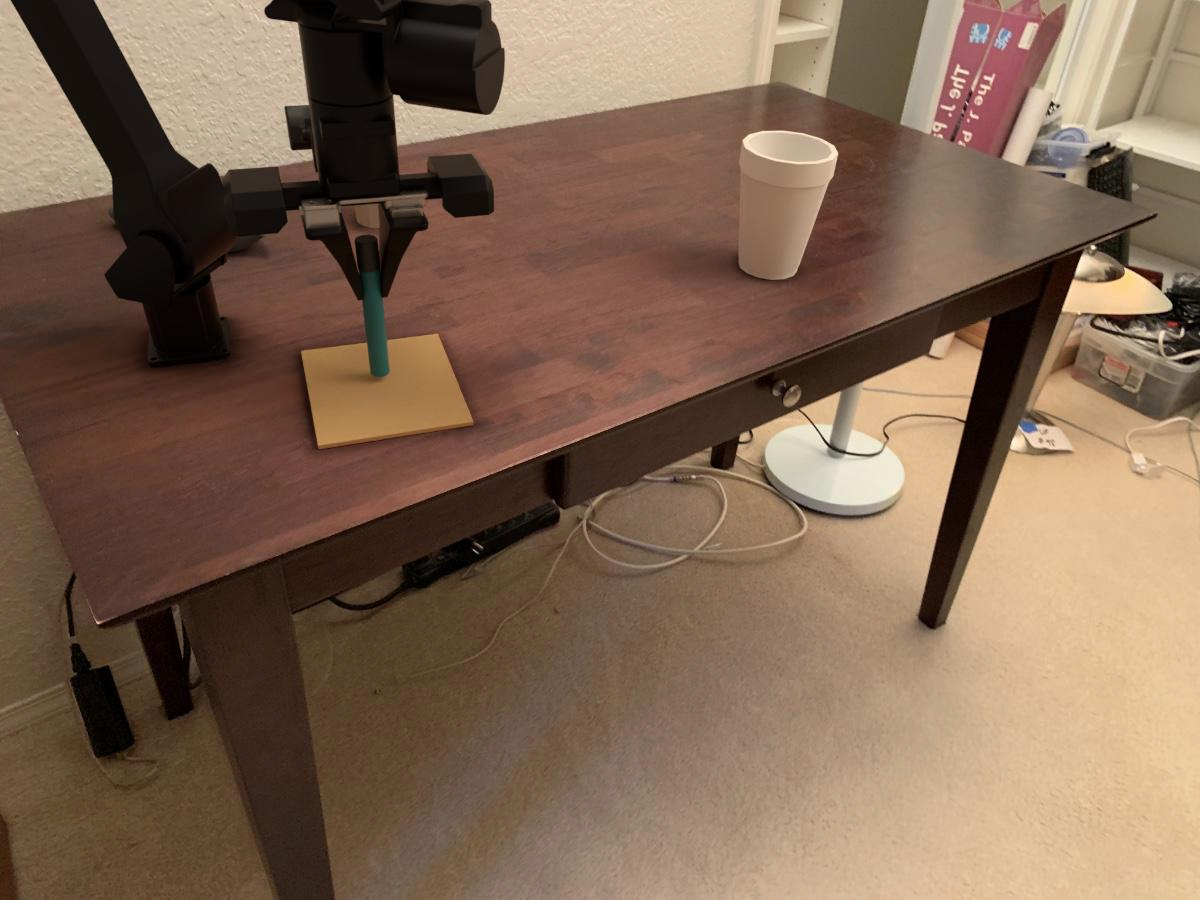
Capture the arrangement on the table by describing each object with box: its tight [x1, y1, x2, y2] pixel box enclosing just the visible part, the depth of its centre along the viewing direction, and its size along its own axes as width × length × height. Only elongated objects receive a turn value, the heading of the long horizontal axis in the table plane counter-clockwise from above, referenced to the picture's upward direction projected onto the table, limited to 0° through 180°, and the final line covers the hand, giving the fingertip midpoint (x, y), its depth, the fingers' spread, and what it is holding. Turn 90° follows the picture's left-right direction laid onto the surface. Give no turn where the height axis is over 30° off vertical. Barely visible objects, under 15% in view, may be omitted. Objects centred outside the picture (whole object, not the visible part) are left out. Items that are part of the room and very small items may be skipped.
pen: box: [354, 234, 390, 377], centre depth 73 cm, size 2×2×12 cm
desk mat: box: [300, 333, 474, 450], centre depth 76 cm, size 14×12×1 cm
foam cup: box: [738, 130, 839, 281], centre depth 95 cm, size 10×9×13 cm
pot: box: [354, 204, 379, 230], centre depth 101 cm, size 6×6×4 cm
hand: (372, 296), depth 72 cm, fingers closed on pen, 1 cm apart
